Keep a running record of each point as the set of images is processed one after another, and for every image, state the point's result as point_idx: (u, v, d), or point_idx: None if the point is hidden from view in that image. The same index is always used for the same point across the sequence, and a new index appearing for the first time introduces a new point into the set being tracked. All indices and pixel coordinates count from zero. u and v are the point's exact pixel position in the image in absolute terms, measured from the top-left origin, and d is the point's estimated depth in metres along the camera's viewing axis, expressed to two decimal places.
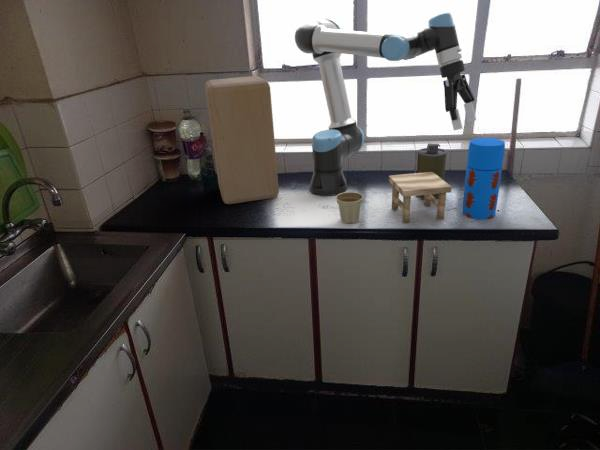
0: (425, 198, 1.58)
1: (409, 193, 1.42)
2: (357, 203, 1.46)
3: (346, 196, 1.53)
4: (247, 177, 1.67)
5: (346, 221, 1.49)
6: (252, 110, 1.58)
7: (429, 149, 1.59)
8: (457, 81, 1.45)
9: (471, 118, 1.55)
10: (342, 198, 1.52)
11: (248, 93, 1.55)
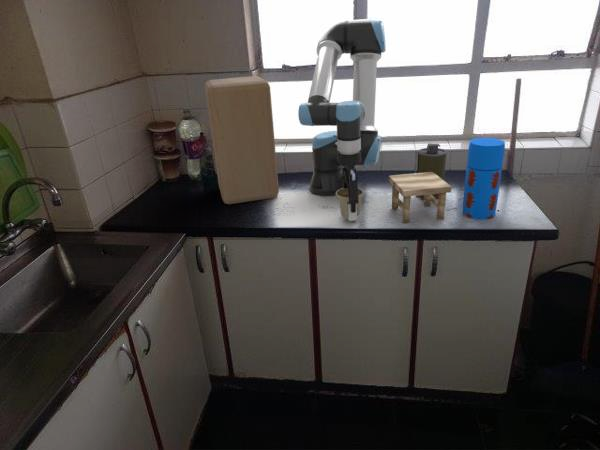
0: (425, 198, 1.58)
1: (409, 193, 1.42)
2: None
3: (346, 191, 1.53)
4: (247, 177, 1.67)
5: (346, 216, 1.49)
6: (252, 110, 1.58)
7: (429, 149, 1.59)
8: None
9: None
10: (342, 193, 1.52)
11: (248, 93, 1.55)
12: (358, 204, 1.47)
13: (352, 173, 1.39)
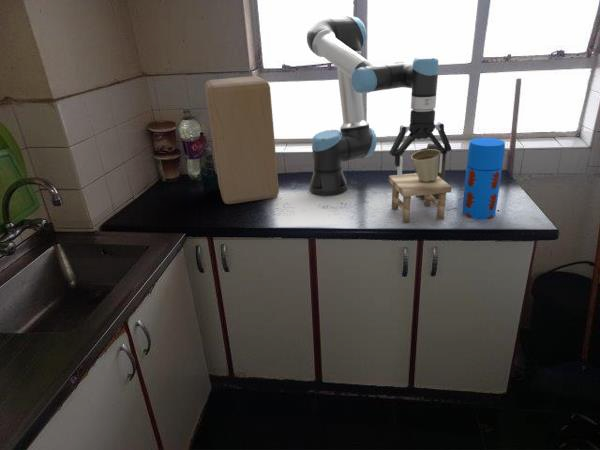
0: (425, 198, 1.58)
1: (409, 193, 1.42)
2: None
3: None
4: (247, 177, 1.67)
5: (437, 175, 1.47)
6: (252, 110, 1.58)
7: None
8: (417, 131, 1.40)
9: None
10: None
11: (248, 93, 1.55)
12: None
13: (438, 123, 1.41)
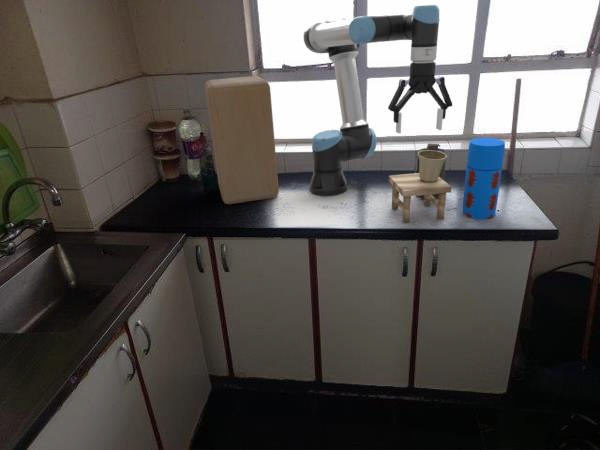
0: (425, 198, 1.58)
1: (409, 193, 1.42)
2: None
3: None
4: (247, 177, 1.67)
5: None
6: (252, 110, 1.58)
7: (429, 149, 1.59)
8: (417, 84, 1.35)
9: (438, 126, 1.43)
10: None
11: (248, 93, 1.55)
12: None
13: (439, 77, 1.36)
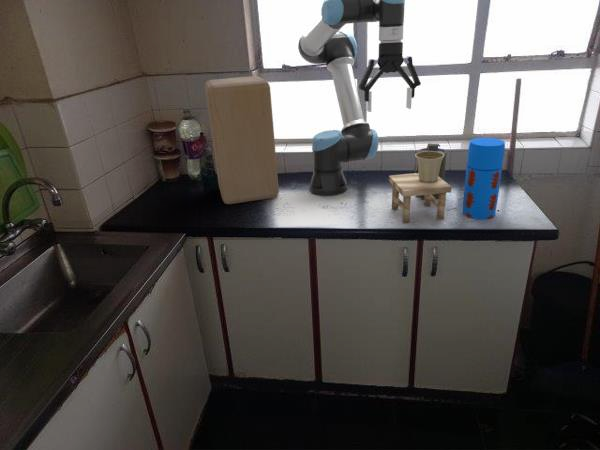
0: (425, 198, 1.58)
1: (409, 193, 1.42)
2: None
3: None
4: (247, 177, 1.67)
5: (437, 178, 1.48)
6: (252, 110, 1.58)
7: (429, 149, 1.59)
8: (385, 63, 1.40)
9: (407, 105, 1.48)
10: None
11: (248, 93, 1.55)
12: None
13: (407, 57, 1.41)
